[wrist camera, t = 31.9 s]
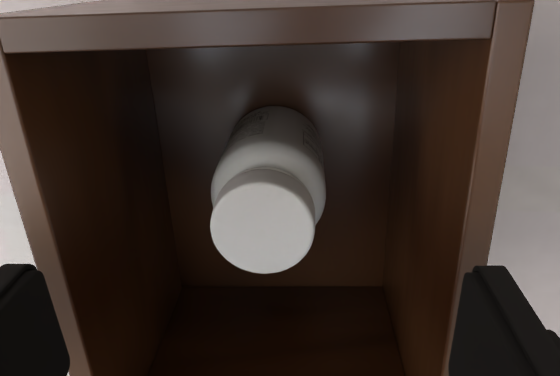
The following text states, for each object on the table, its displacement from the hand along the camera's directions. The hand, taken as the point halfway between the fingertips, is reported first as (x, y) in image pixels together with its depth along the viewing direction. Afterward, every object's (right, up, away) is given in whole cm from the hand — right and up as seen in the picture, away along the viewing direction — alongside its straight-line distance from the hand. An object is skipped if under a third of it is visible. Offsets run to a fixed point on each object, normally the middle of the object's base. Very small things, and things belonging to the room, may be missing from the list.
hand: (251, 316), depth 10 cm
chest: (+1, +4, +13) cm, 13 cm away
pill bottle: (0, +5, +12) cm, 13 cm away
